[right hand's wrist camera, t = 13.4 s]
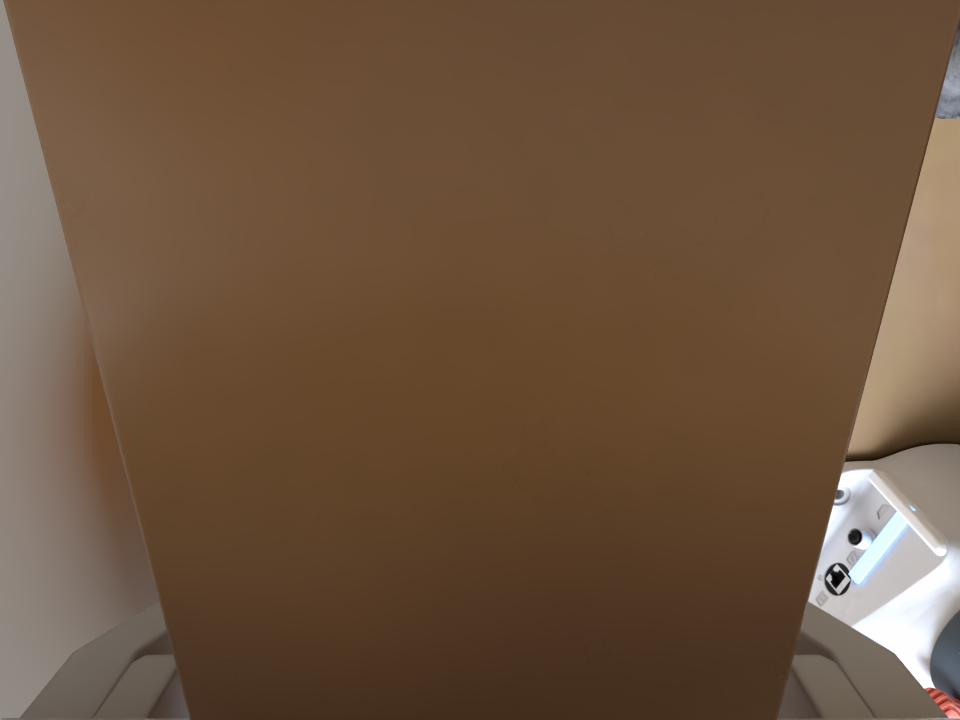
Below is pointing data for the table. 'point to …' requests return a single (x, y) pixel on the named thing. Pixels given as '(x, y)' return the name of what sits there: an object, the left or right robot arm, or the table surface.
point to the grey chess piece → (951, 85)
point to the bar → (483, 331)
